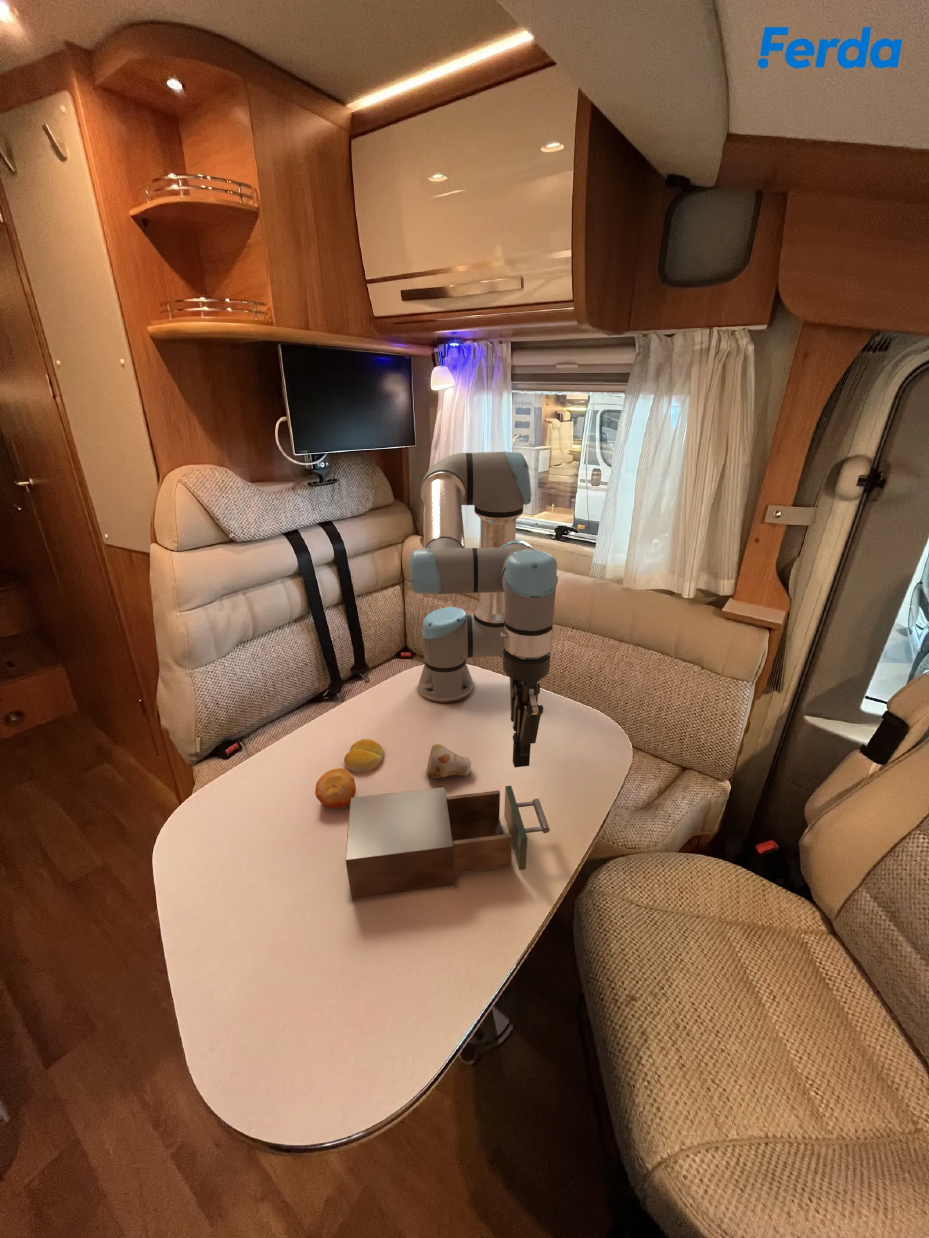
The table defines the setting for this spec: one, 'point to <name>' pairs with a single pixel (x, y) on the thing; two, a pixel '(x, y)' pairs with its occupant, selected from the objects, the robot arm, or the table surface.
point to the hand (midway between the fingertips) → (520, 763)
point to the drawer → (489, 830)
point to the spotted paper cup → (446, 763)
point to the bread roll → (363, 755)
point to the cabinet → (399, 843)
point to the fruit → (335, 788)
